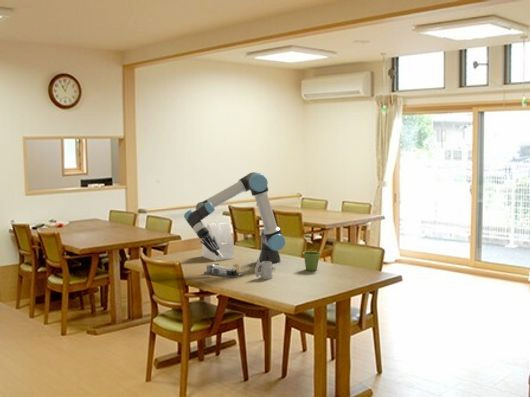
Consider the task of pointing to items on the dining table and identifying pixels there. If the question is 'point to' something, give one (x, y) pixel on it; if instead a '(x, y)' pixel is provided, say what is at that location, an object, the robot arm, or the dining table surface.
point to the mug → (264, 269)
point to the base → (224, 272)
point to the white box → (220, 241)
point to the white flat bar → (222, 267)
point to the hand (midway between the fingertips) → (222, 258)
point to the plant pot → (311, 260)
